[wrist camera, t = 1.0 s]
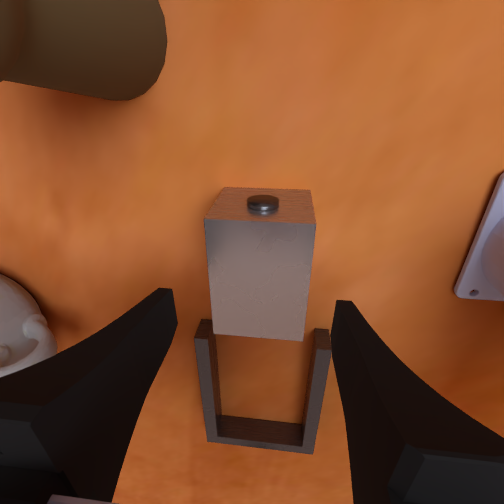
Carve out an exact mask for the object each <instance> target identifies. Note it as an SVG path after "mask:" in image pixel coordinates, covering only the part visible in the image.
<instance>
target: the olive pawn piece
mask: <svg viewBox="0 0 504 504" xmlns="http://www.w3.org/2000/svg"><path fill="white" fill-rule="evenodd" d="M166 47H167V35H166V27H165V19H164V15H163V12H162V10H161V7H160V4H159V2H158V0H0V82H1V81H3V80H5V81H10V82H16V83H21V84H27V85H32V86H38V87H43V88H49V89H54V90H59V91H65V92H70V93H76V94H81V95H87V96H92V97H98V98H103V99H108V100H130V99H133V98H135V97H137V96H140V95H142V94H144V93H145V92H146V91H147V90H148V89H149V88H150V87H151V86H152V85H153V84H154V83H155V82H156V81H157V79H158V76H159V74H160V72H161V70H162V67H163V65H164V62H165V55H166Z"/></svg>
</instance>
